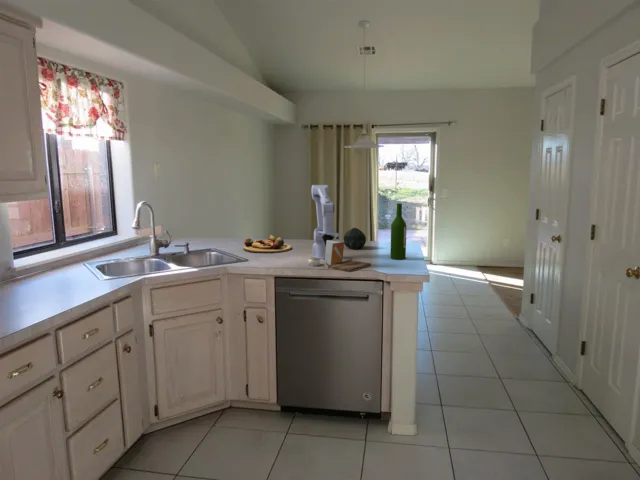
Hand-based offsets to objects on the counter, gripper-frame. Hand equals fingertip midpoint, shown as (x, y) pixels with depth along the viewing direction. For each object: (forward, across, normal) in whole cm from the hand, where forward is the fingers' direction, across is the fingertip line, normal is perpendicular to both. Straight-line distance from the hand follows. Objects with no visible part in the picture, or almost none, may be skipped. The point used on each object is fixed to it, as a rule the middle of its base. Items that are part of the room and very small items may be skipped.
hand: (328, 248), depth 255 cm
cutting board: (+8, +15, 0) cm, 18 cm away
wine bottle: (+9, +23, +37) cm, 45 cm away
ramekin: (+8, -3, -9) cm, 13 cm away
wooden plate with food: (+9, -60, +8) cm, 61 cm away
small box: (+8, +4, 0) cm, 9 cm away
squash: (+9, -17, +48) cm, 52 cm away
